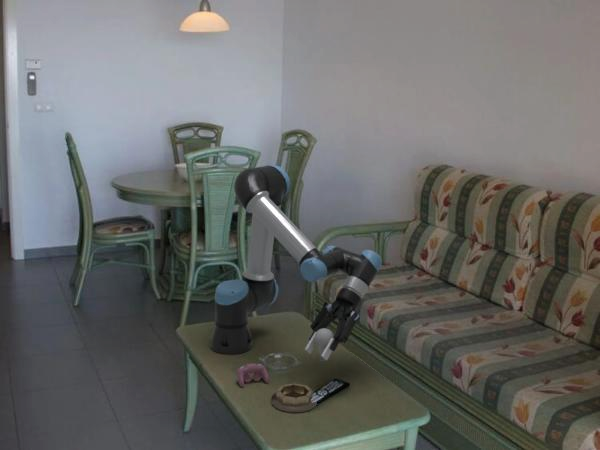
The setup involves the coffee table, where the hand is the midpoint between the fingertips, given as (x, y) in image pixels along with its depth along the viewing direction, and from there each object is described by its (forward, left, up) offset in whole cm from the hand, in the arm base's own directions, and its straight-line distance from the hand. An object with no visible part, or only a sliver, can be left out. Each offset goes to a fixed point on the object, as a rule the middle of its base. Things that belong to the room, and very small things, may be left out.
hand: (315, 354), depth 214 cm
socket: (+5, -10, -12) cm, 16 cm away
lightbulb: (-1, +3, -4) cm, 5 cm away
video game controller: (-13, -16, -12) cm, 23 cm away
